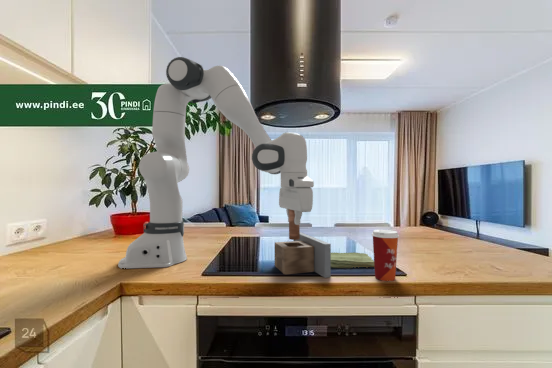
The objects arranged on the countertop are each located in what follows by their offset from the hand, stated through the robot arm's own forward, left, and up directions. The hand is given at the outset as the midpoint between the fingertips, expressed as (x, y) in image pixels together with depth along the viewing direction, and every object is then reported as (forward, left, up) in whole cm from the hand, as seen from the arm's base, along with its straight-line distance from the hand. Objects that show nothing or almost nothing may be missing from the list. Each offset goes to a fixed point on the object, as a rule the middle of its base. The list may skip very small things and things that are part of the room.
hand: (294, 223), depth 96 cm
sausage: (0, 0, -5) cm, 5 cm away
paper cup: (+22, -18, -15) cm, 32 cm away
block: (0, 0, -15) cm, 15 cm away
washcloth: (+21, 0, -16) cm, 26 cm away
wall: (+6, 0, -15) cm, 16 cm away
